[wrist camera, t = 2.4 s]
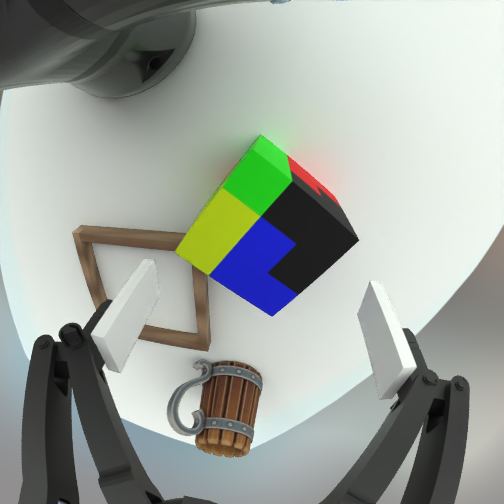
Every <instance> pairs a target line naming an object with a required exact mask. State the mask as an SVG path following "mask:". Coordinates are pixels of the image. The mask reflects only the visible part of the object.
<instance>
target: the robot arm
mask: <svg viewBox="0 0 504 504" xmlns="http://www.w3.org/2000/svg"><path fill="white" fill-rule="evenodd" d="M265 1H270V2H271V3H273V4H281V3H285V2H289V1H291V0H0V91H1V90H7V89H12V88H18V87H25V86H32V85H41V84H51V83H63V82H68V83H70V84H71V85H73V86H75V87H77V88H79V89H81V90H83V91H85V92H87V93H89V94H91V95H94V96H99V97H107V98H111V97H126V96H131V95H135V94H138V93H140V92H143V91H145V90H147V89H149V88H151V87H153V86H154V85H156V84H157V83H159V82H160V81H161V80H163V79H164V78H165V77H166V76H167V75H168V74H170V73H171V72H172V71H173V69H174V68H175V67H176V66H177V65H178V64H179V62H180V61H181V60H182V58H183V57H184V55H185V54H186V52H187V50H188V48H189V46H190V44H191V41H192V39H193V36H194V32H195V26H196V13H195V10H197V9H203V8H208V7H215V6H221V5H229V4H238V3H249V2H265ZM336 1H346V0H336ZM159 297H160V289H159V283H158V277H157V271H156V264H155V260H151V259H143V261H142V262H141V263H140V264H139V266H138V267H137V268H136V270H135V271H134V272H133V274H132V275H131V277H130V278H129V279H128V281H127V282H126V283H125V285H124V286H123V287H122V289H121V290H120V292H119V293H118V294H117V296H116V297H115V299H114V300H109V299H107V300H106V301H104V302H103V303H102V304H100V306H99V307H98V308H97V310H96V312H95V313H94V314H93V316H92V317H91V318H90V320H89V321H88V323H87V324H86V326H85V327H84V329H83V330H82V328H81V326H80V325H79V324H77V323H68V324H66V325H64V326H63V327H62V328H61V329H60V331H59V338H60V339H61V341H62V342H55V341H54V340H53V338H52V336H50V335H42V336H40V337H38V338H37V339H36V341H35V343H34V346H33V350H32V355H31V360H30V365H29V371H28V377H27V384H26V390H25V400H24V408H23V421H22V475H23V483H22V488H21V493H20V498H19V503H18V504H79V493H78V487H77V480H76V472H75V465H74V455H73V442H72V419H71V396H72V390H73V394H74V398H75V403H76V406H77V410H78V414H79V417H80V421H81V424H82V428H83V431H84V434H85V437H86V440H87V443H88V446H89V449H90V452H91V454H92V457H93V459H94V462H95V465H96V467H97V470H98V472H99V476H100V477H99V479H98V481H99V485H100V488H101V490H102V492H103V494H104V497H105V499H106V501H107V503H108V504H217V503H214V502H211V501H208V500H203V499H198V498H192V497H188V496H184V498H176V499H170V500H166V501H165V500H164V499H163V497H162V496H161V494H160V493H159V491H158V490H157V488H156V487H155V486H154V484H153V483H152V482H151V480H150V479H149V477H148V475H147V474H146V472H145V470H144V468H143V466H142V464H141V462H140V460H139V458H138V456H137V454H136V452H135V450H134V448H133V446H132V444H131V442H130V440H129V437H128V435H127V433H126V431H125V428H124V426H123V423H122V421H121V419H120V416H119V414H118V411H117V409H116V406H115V403H114V401H113V398H112V395H111V392H110V389H109V386H108V384H107V381H106V377H105V374H104V371H103V370H102V367H103V366H104V364H106V366H107V368H108V370H111V371H114V372H117V373H121V371H122V369H123V367H124V365H125V363H126V361H127V359H128V357H129V355H130V353H131V351H132V349H133V347H134V345H135V343H136V341H137V339H138V337H139V335H140V333H141V331H142V329H143V327H144V325H145V323H146V321H147V319H148V317H149V315H150V314H151V312H152V310H153V308H154V306H155V304H156V302H157V300H158V299H159ZM357 315H358V318H359V321H360V325H361V328H362V332H363V335H364V339H365V343H366V346H367V350H368V354H369V358H370V362H371V366H372V370H373V374H374V378H375V382H376V387H377V391H378V396H379V399H380V400H382V399H392V398H393V397H394V395H395V394H396V393H397V394H398V397H399V399H398V400H397V401H396V402H395V403H394V404H393V405H392V406H391V408H390V409H391V411H390V413H389V414H388V416H387V418H386V419H385V421H384V423H383V424H382V426H381V427H380V429H379V430H378V432H377V434H376V435H375V436H374V438H373V439H372V441H371V442H370V444H369V445H368V447H367V448H366V449H365V451H364V452H363V454H362V455H361V456H360V458H359V459H358V460H357V462H356V463H355V464H354V465H353V467H352V468H351V469H350V471H349V472H348V473H347V474H346V476H345V477H344V478H343V479H342V480H341V482H340V483H339V484H338V485H337V486H336V487H335V489H334V490H333V491H332V492H331V493H330V494H329V495H328V496H327V497H326V498H325V499H324V500H323V501H322V502H320V503H319V504H376V502H377V501H378V500H379V498H380V497H381V495H382V494H383V492H384V491H385V490H386V488H387V487H388V485H389V484H390V482H391V481H392V479H393V478H394V476H395V474H396V473H397V471H398V469H399V468H400V466H401V464H402V463H403V461H404V459H405V458H406V456H407V454H408V452H409V450H410V448H411V447H412V445H413V443H414V441H415V439H416V437H417V435H418V433H419V431H420V428H421V427H422V425H423V428H422V433H421V437H420V441H419V446H418V450H417V454H416V457H415V461H414V465H413V468H412V472H411V475H410V478H409V481H408V484H407V487H406V490H405V492H404V495H403V498H402V501H401V503H400V504H454V502H455V498H456V494H457V490H458V486H459V482H460V478H461V473H462V467H463V462H464V455H465V448H466V440H467V432H468V419H469V391H470V390H469V383H468V382H467V380H466V379H465V378H464V377H462V376H458V375H457V376H455V377H453V378H452V380H451V381H447V380H441V379H439V378H438V376H437V375H436V373H435V372H433V371H432V370H429V369H428V368H427V365H426V363H425V360H424V358H423V355H422V353H421V351H420V349H419V346H418V343H417V341H416V338H415V336H414V334H413V333H412V332H411V331H410V330H409V329H408V328H401V325H400V323H399V321H398V318H397V316H396V314H395V311H394V309H393V307H392V305H391V302H390V300H389V298H388V296H387V294H386V292H385V289H384V287H383V285H382V283H381V282H380V281H370V282H369V285H368V287H367V290H366V293H365V296H364V298H363V301H362V304H361V306H360V309H359V312H358V314H357ZM423 422H424V423H423Z"/></svg>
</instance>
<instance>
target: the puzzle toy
mask: <svg viewBox="0 0 504 504" xmlns="http://www.w3.org/2000/svg"><path fill="white" fill-rule="evenodd" d="M358 241H359V239H358V237H357V235H356V233H355V232H354V230H353V228H352V226H351V224H350V222H349V221H348V219H347V217H346V215H345V213H344V212H343V210H342V208H341V206H340V205H339V203H338V201H337V200H336V198H335V196H334V195H333V194H331V193H330V192H329V191H328V190H327V189H326V188H325V187H324V186H323V185H321V184H320V183H319V182H318V181H317V180H316V179H315V178H314V177H312V176H311V175H310V174H309V173H308V172H307V171H305V170H304V169H303V168H302V167H301V166H300V165H298V164H297V163H296V162H295V161H294V160H292V159H291V158H290V157H289V156H288V155H286V154H285V153H284V152H283V151H281V150H280V149H279V148H278V147H276V146H275V145H274V144H273V143H271V142H270V141H269V140H267V139H266V138H265V137H264V136H262V135H260V136H259V138H258V139H257V140H256V141H255V142H254V144H253V145H252V146H251V147H250V148H249V150H248V151H247V152H246V153H245V155H244V156H243V157H242V158H241V159H240V161H239V162H238V163H237V164H236V166H235V167H234V168H233V170H232V171H231V172H230V173H229V175H228V176H227V177H226V178H225V180H224V181H223V182H222V184H221V185H220V186H219V188H218V189H217V190H216V191H215V193H214V194H213V195H212V197H211V198H210V199H209V201H208V202H207V203H206V205H205V206H204V208H203V209H202V211H201V212H200V214H199V215H198V217H197V218H196V220H195V221H194V223H193V224H192V226H191V227H190V229H189V230H188V232H187V233H186V235H185V236H184V238H183V240H182V241H181V243H180V244H179V246H178V247H177V249H176V251H175V253H176V254H178V255H179V256H181V257H182V258H183V259H185V260H186V261H188V262H189V263H191V264H192V265H194V266H195V267H197V268H198V269H200V270H201V271H202V272H204V273H205V274H207V275H208V276H210V277H211V278H213V279H214V280H216V281H217V282H219V283H220V284H222V285H223V286H225V287H226V288H228V289H229V290H231V291H233V292H234V293H236V294H237V295H239V296H240V297H242V298H243V299H245V300H246V301H248V302H250V303H251V304H253V305H254V306H256V307H257V308H259V309H261V310H262V311H264V312H265V313H267V314H268V315H270V316H274V315H275V314H276V313H277V312H278V311H280V310H281V309H282V308H283V307H285V306H286V305H287V304H288V303H289V302H290V301H292V300H293V299H294V298H295V297H296V296H298V295H299V294H300V293H301V292H302V291H303V290H305V289H306V288H307V287H308V286H309V285H310V284H312V283H313V282H314V281H315V280H316V279H317V278H318V277H320V276H321V275H322V274H323V273H324V272H325V271H326V270H327V269H329V268H330V267H331V266H332V265H333V264H334V263H335V262H336V261H337V260H338V259H340V258H341V257H342V256H343V255H344V254H345V253H346V252H347V251H348V250H349V249H350V248H351V247H353V246H354V245H355V244H356V243H357V242H358Z"/></svg>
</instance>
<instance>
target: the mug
mask: <svg viewBox="0 0 504 504" xmlns="http://www.w3.org/2000/svg"><path fill="white" fill-rule="evenodd" d="M193 367H194V368H195V369H197V370H198V369H200V368H201V369H202V375H201V377H200V378H196V379H193V380H191V381H188V382H186V383H184V384H182V385H181V386H179V387H178V388H177V389H176V390H175V391H174V393H173V394H172V396H171V398H170V400H169V403H168V406H167V418H168V421H169V424H170V426H171V427H172V428H173V430H174V431H176V432H177V433H179V434H181V435H184V436H191V435H196V439H195V444H196V446H197V448H198V449H199V450H203V451H204V452H206V453H209V454H211V453H212V452H213V454H214V455H216V456H222V455H223V454H224V455H225V457H234V455H235V457H242V456H245V455H247V454H248V452H249V450H250V444H251V443H252V441H253V436H254V430H253V429H254V424H255V418H256V413H257V407H258V402H259V397H260V395H261V391H262V385H263V384H262V377H261V375H260V374H259V373H258V372H257V371H256V370H255V369H253V368H252V367H250V366H248V365H246V364H243V363H239V362H233V361H224V362H218V363H215V364H213V365H210V363H209V362H208V361H206V360H203V359H202V360H200V361H198V362H196V363H195V364H194V365H193ZM201 383H202V387H203V390H202V396H201V403H200V410H197V411H194V412H193V413H192V415H193V417H194V425H193V427H192V428H191V429H190V428H187V427H185V426H184V425H183V424H182V423H181V421H180V419H179V416H178V407H179V403H180V401H181V399H182V397H183V395H184V393H185V392H186V391H187V390H188V389H189V388H191V387H193V386H196V385H199V384H201Z"/></svg>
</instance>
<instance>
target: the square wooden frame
mask: <svg viewBox="0 0 504 504" xmlns="http://www.w3.org/2000/svg"><path fill="white" fill-rule="evenodd" d="M72 233H73V237H74V241H75V245H76V249H77V253H78V256H79V260H80V263H81V267H82V270H83V273H84V276H85V279H86V282H87V286H88V288H89V291H90V294H91V297H92V300H93V303H94V305H95V308H96V310H97V308H98V307H99V306H100V304H102V303H103V302H104V301H106V300H107V298H106V295H105V292H104V288H103V285H102V282H101V278H100V275H99V271H98V268H97V264H96V260H95V256H94V252H93V248H92V244H91V242H93V243H102V244H111V245H121V246H130V247H140V248H149V249H159V250H169V251H176V249H177V247H178V246H179V244H180V243H181V241H182V240H183V238H184V236H185V235H186V233H174V232H162V231H150V230H137V229H124V228H111V227H97V226H83V225H81V226H80V227H79V228H77V229H76V230H75V231H74V232H72ZM192 271H193V284H194V295H195V306H196V316H197V326H198V334H193V333H187V332H181V331H175V330H169V329H163V328H158V327H153V326H148V325H144V327H143V329H142V331H141V333H140V335H139V337H138V339H142V340H146V341H151V342H156V343H161V344H166V345H171V346H177V347H182V348H188V349H194V350H201V351H207V352H208V350H209V346H210V342H211V336H210V321H209V304H208V283H207V274H205V273H204V272H202V271H201V270H200V269H198V268H197V267H195V266H194V265H192Z"/></svg>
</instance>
